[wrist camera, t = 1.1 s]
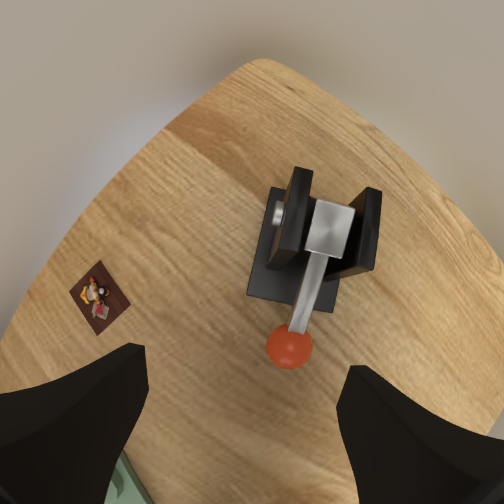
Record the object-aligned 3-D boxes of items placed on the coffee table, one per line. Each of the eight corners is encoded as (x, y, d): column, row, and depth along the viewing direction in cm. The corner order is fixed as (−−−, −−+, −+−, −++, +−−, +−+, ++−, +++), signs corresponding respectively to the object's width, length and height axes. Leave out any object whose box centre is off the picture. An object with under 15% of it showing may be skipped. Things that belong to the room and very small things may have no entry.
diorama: (99, 271, 23) (87, 268, 21) (121, 304, 22) (111, 304, 20) (78, 291, 22) (66, 290, 20) (100, 324, 22) (88, 326, 20)
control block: (161, 515, 19) (155, 531, 16) (103, 512, 18) (93, 525, 15) (120, 445, 20) (108, 458, 17) (62, 445, 20) (48, 455, 17)
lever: (303, 355, 20) (306, 381, 17) (262, 347, 20) (260, 373, 17) (350, 205, 17) (365, 211, 14) (303, 193, 17) (309, 196, 14)
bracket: (329, 312, 23) (383, 319, 13) (246, 294, 23) (246, 290, 13) (347, 210, 24) (399, 161, 15) (270, 190, 24) (284, 126, 15)
